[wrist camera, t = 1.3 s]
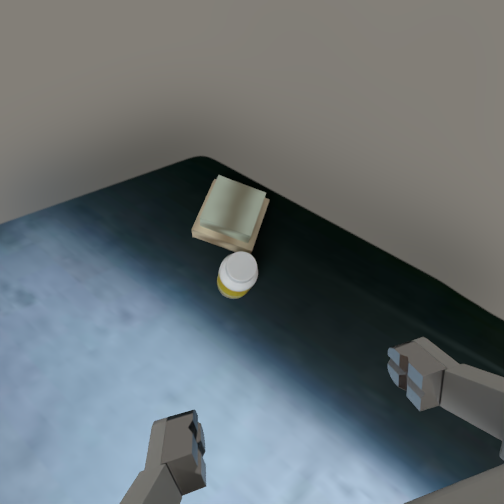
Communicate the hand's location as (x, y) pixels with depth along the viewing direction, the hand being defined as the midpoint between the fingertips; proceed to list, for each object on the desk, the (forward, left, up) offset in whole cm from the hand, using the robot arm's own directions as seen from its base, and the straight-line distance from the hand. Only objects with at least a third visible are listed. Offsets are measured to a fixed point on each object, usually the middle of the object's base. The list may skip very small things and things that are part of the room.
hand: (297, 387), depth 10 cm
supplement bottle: (-3, +10, -30) cm, 32 cm away
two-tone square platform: (-7, +20, -30) cm, 37 cm away
